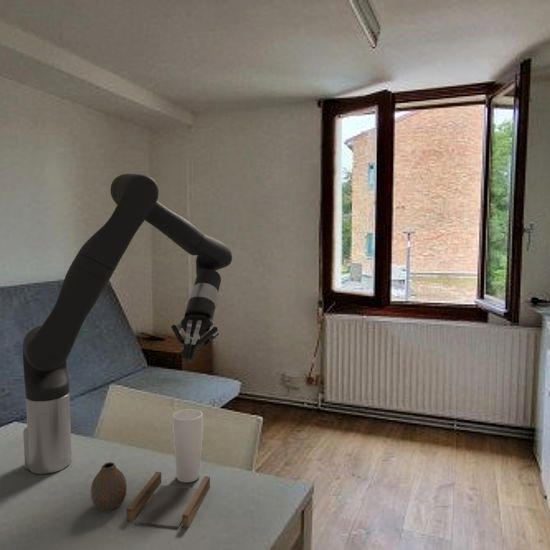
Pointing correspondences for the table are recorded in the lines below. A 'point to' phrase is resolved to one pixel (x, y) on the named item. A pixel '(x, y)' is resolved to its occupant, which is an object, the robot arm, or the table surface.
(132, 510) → the cradle
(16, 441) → the table surface
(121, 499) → the vase
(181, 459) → the white cup
